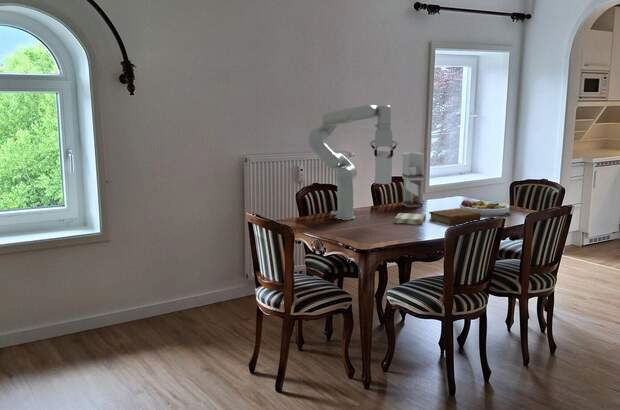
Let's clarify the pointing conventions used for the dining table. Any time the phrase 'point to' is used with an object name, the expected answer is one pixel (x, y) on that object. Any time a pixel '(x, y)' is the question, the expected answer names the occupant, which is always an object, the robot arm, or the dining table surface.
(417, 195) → the display case
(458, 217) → the diary
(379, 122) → the robot arm
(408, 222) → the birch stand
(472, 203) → the bowl
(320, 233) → the dining table surface
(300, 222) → the dining table surface
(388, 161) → the milk carton
